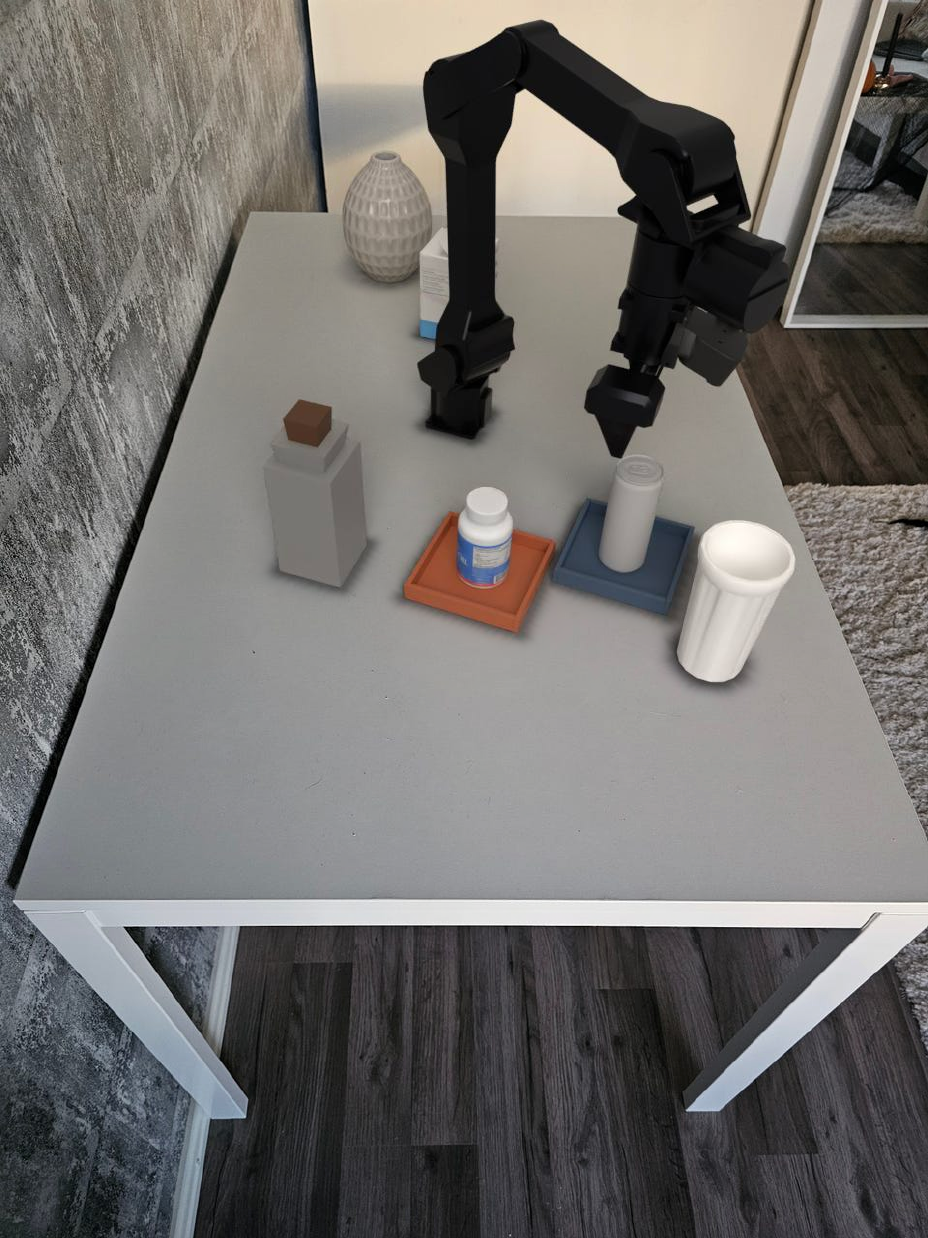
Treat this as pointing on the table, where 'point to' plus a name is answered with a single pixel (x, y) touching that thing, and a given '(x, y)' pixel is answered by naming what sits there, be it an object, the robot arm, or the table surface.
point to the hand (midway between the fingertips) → (628, 430)
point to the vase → (387, 218)
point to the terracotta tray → (494, 605)
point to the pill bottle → (484, 538)
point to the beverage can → (631, 512)
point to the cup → (732, 596)
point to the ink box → (437, 282)
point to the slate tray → (636, 588)
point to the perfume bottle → (316, 495)
